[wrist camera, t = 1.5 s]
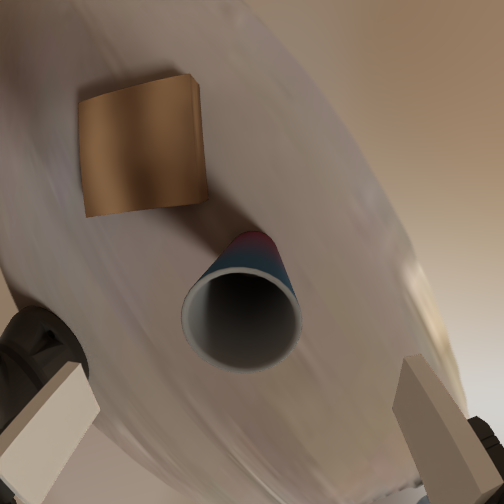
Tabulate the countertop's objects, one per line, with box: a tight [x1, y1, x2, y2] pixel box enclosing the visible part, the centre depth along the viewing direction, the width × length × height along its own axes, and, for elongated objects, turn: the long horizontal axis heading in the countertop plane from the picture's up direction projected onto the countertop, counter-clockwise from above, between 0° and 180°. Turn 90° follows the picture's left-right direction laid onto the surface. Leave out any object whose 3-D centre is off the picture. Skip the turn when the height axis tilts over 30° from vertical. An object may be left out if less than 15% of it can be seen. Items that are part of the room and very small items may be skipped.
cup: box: [181, 231, 302, 373], centre depth 24 cm, size 7×7×15 cm
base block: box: [78, 74, 208, 218], centre depth 27 cm, size 12×12×4 cm
